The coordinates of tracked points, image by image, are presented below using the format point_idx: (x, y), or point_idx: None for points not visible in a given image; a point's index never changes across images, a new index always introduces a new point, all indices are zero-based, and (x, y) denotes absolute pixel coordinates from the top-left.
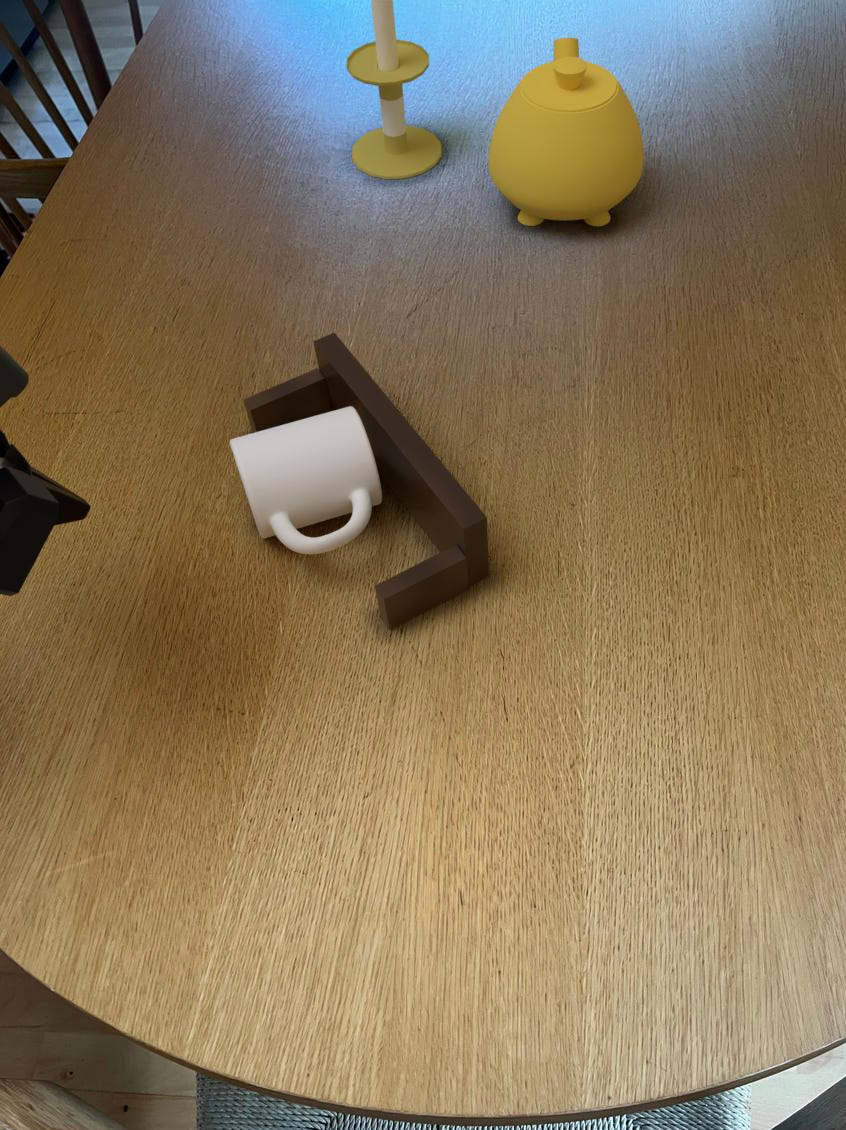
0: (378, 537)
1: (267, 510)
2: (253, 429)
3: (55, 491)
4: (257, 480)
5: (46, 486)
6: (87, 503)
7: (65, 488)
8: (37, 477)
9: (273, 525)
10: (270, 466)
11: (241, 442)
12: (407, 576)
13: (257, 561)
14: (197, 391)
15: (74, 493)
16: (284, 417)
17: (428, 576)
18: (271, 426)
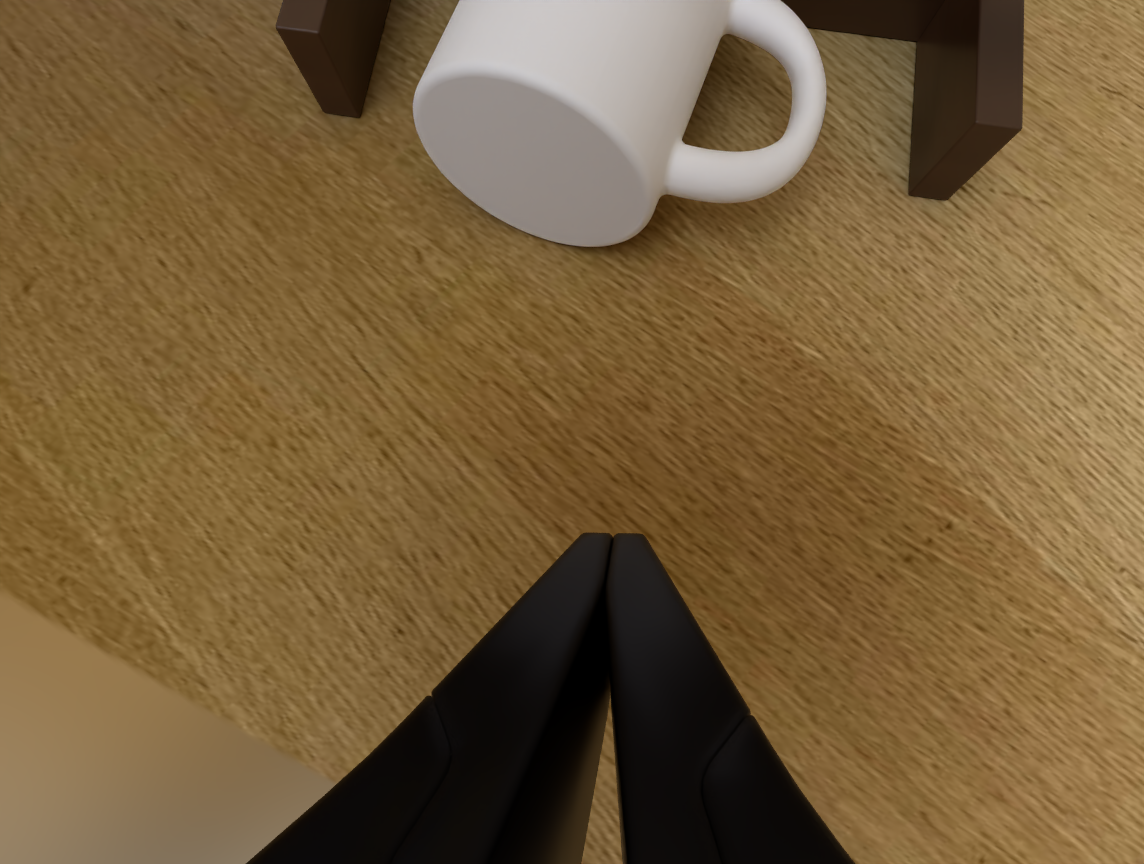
0: (737, 91)
1: (663, 158)
2: (328, 95)
3: (756, 725)
4: (624, 95)
5: (808, 816)
6: (637, 539)
7: (555, 595)
8: (645, 830)
9: (688, 181)
10: (619, 38)
11: (493, 39)
12: (997, 60)
13: (628, 292)
14: (122, 130)
15: (566, 562)
16: (360, 24)
17: (1022, 31)
18: (356, 61)
